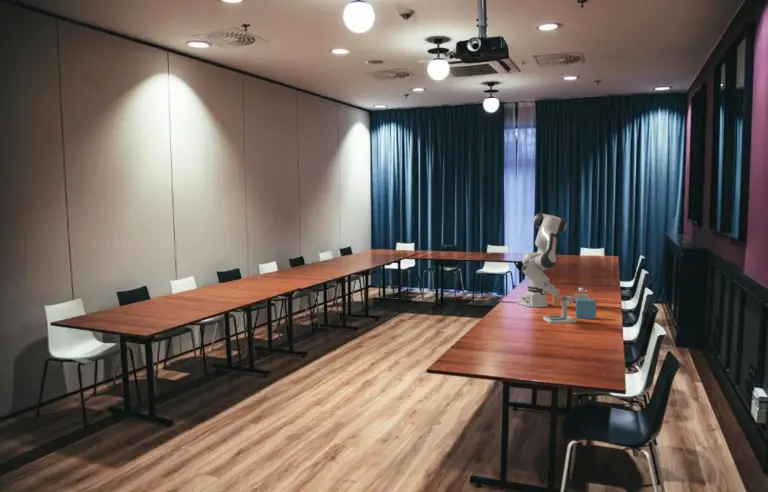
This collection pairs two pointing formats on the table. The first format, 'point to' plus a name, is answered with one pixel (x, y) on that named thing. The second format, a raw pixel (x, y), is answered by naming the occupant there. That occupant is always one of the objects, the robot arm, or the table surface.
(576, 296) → the toy car
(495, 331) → the table surface
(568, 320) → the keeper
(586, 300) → the data package
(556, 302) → the wooden square pillar
